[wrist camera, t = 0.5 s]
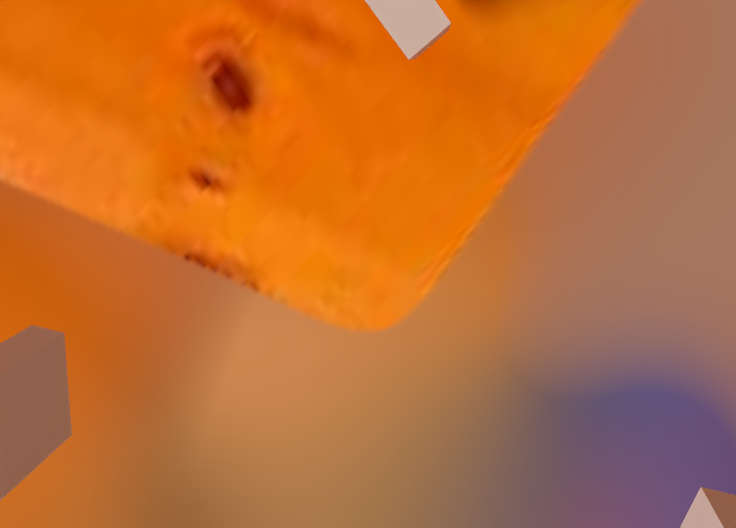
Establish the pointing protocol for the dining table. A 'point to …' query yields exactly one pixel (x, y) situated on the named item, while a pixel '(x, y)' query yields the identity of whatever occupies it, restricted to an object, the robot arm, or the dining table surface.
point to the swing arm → (411, 23)
